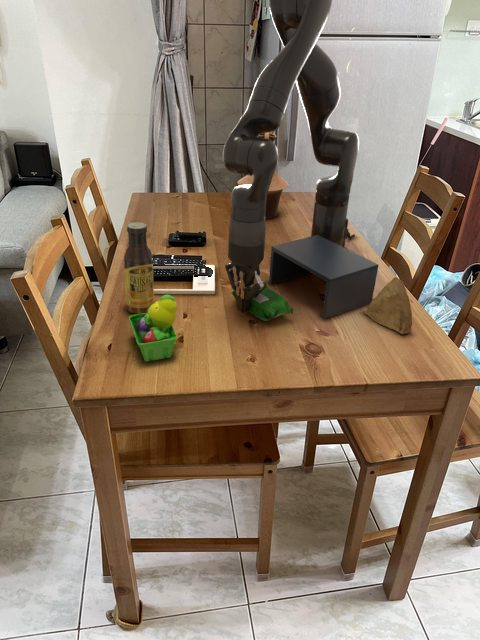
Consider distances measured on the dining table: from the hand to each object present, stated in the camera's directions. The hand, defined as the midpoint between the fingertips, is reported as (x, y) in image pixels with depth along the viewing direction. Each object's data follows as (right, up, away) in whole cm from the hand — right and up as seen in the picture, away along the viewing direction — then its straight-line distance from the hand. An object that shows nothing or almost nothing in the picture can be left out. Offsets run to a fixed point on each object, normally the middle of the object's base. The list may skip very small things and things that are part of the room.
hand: (243, 310), depth 114 cm
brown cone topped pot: (+7, +34, +60) cm, 69 cm away
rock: (+32, -3, 0) cm, 32 cm away
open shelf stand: (+19, +5, +12) cm, 23 cm away
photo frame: (-16, +8, +15) cm, 23 cm away
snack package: (+4, 0, +3) cm, 5 cm away
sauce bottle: (-23, 0, +2) cm, 23 cm away
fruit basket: (-18, -8, -11) cm, 22 cm away
